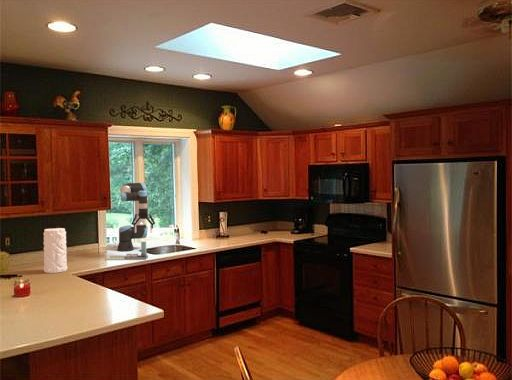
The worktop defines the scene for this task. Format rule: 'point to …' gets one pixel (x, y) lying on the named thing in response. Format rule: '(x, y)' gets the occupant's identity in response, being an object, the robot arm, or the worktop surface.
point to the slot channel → (140, 257)
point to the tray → (115, 258)
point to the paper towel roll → (55, 250)
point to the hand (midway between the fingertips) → (143, 232)
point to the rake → (143, 248)
